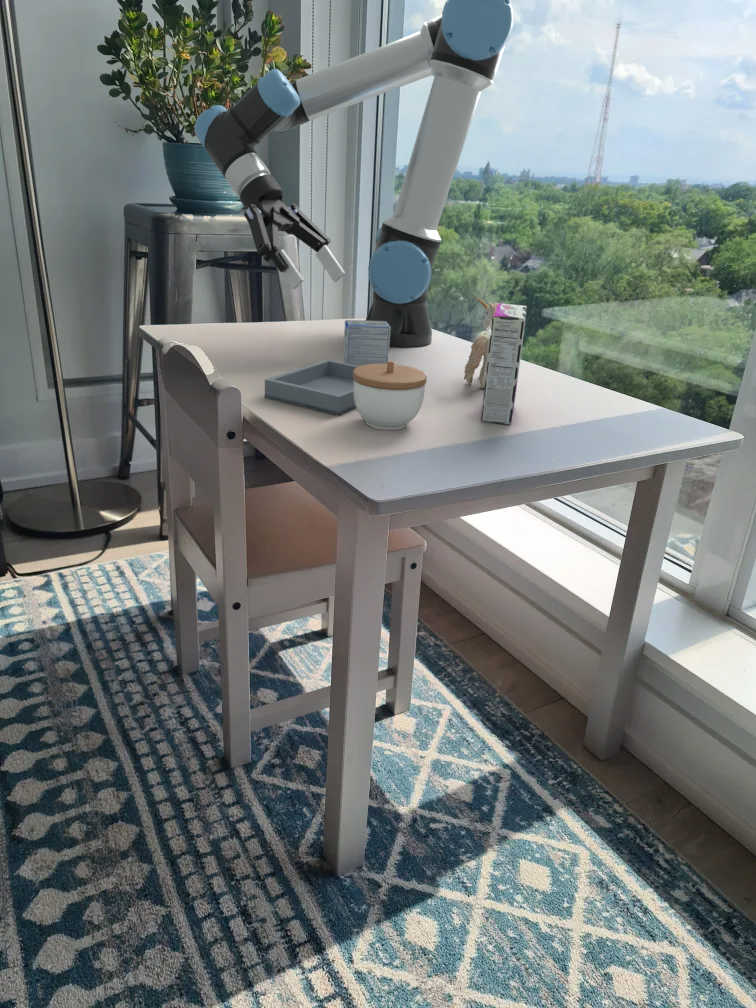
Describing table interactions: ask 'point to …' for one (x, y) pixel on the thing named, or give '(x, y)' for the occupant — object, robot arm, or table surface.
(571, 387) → the table surface
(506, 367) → the candy bar box
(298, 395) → the slate tray
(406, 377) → the lidded jar
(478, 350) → the unicorn figurine
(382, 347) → the medicine box
